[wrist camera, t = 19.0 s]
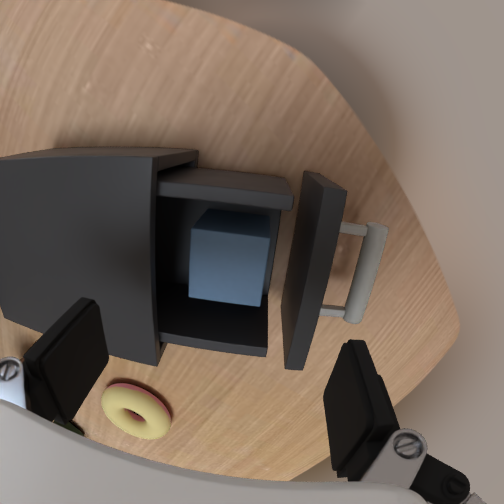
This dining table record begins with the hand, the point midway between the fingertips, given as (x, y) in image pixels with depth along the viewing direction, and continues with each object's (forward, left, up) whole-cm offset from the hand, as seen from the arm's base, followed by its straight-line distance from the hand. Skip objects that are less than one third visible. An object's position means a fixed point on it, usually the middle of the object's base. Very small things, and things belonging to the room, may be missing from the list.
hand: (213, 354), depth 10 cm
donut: (+26, +9, -15) cm, 31 cm away
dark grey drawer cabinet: (+8, -8, -14) cm, 18 cm away
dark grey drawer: (0, 0, -13) cm, 13 cm away
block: (0, 0, -12) cm, 12 cm away
